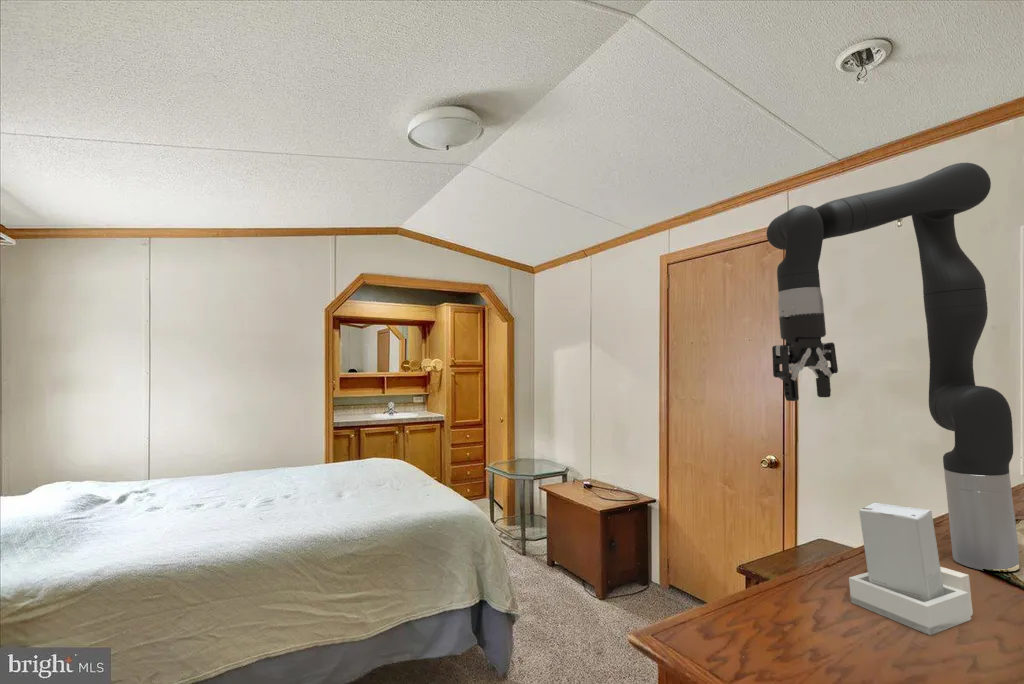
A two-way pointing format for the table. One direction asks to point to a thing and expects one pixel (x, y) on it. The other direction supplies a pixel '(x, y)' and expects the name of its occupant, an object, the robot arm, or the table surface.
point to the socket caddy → (912, 606)
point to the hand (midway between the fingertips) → (808, 398)
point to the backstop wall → (957, 582)
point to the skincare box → (902, 550)
